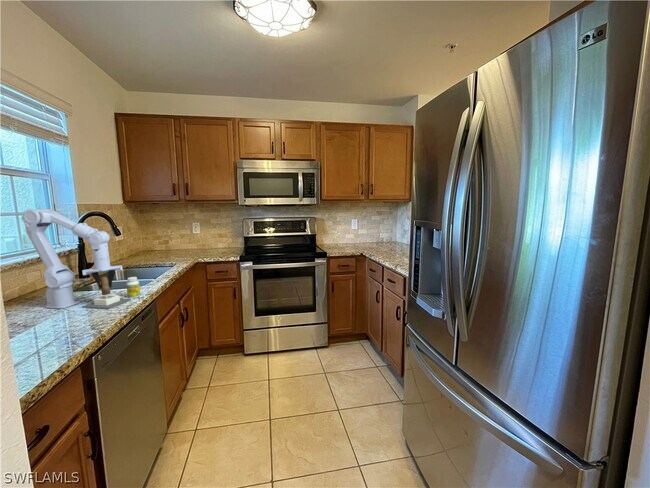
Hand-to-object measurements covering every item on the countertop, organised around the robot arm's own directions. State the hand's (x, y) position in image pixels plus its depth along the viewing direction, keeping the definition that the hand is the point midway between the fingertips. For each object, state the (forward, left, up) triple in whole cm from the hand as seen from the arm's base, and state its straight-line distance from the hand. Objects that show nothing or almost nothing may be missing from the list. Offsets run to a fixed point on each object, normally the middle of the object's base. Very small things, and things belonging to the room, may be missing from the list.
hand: (105, 287), depth 136 cm
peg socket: (0, 0, -8) cm, 8 cm away
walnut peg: (0, 0, -3) cm, 3 cm away
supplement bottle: (+4, +11, -8) cm, 14 cm away
